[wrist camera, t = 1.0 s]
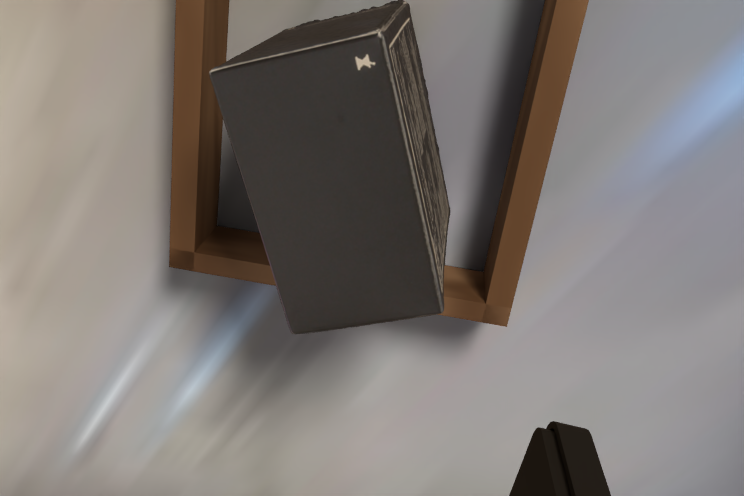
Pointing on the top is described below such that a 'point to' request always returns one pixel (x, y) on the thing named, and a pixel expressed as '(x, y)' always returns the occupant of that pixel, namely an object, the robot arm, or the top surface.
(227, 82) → the small box
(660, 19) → the top surface
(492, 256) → the wooden u-shaped frame
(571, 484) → the robot arm
